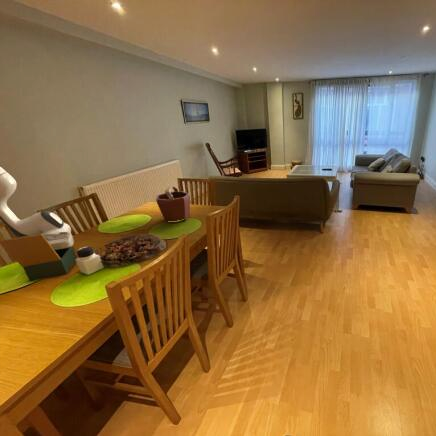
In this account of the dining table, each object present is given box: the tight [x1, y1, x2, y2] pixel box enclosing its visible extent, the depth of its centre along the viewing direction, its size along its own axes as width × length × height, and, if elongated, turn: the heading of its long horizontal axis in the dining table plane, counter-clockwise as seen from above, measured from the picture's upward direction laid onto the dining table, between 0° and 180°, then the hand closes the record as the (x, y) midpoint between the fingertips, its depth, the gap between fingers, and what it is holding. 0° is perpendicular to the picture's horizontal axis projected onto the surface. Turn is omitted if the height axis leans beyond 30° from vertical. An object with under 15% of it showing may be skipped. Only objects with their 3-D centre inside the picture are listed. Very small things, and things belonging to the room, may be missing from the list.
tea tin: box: [22, 245, 79, 282], centre depth 119 cm, size 16×14×8 cm
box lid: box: [0, 233, 61, 268], centre depth 105 cm, size 17×14×1 cm
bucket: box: [155, 185, 191, 224], centre depth 177 cm, size 24×22×25 cm
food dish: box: [94, 233, 167, 268], centre depth 135 cm, size 35×33×8 cm
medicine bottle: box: [75, 246, 105, 275], centre depth 117 cm, size 7×7×12 cm
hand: (38, 253), depth 109 cm, fingers closed
